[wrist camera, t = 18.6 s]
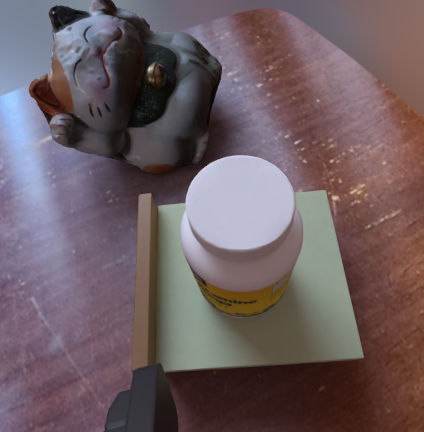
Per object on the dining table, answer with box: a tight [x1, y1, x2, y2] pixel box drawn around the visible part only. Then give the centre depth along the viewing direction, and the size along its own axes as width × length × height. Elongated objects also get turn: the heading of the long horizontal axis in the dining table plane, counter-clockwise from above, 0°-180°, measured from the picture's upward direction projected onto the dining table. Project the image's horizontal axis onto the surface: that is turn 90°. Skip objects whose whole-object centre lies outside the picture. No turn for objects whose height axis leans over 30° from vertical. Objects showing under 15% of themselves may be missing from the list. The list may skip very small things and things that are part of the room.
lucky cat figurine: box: [29, 0, 222, 174], centre depth 33 cm, size 15×12×14 cm
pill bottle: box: [180, 155, 304, 318], centre depth 20 cm, size 6×6×11 cm
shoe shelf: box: [132, 190, 364, 373], centre depth 26 cm, size 14×12×7 cm
